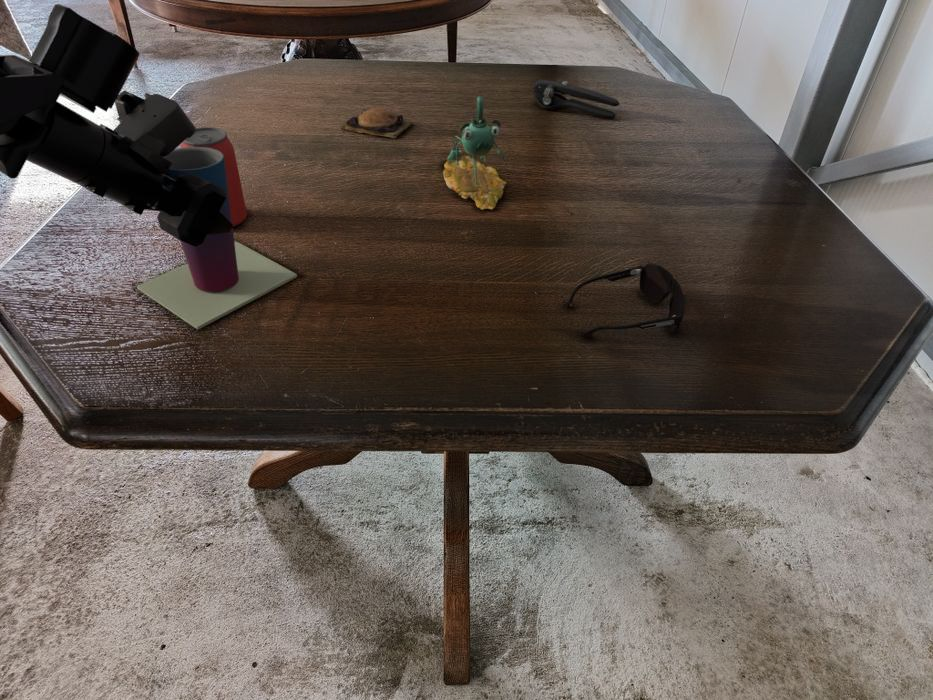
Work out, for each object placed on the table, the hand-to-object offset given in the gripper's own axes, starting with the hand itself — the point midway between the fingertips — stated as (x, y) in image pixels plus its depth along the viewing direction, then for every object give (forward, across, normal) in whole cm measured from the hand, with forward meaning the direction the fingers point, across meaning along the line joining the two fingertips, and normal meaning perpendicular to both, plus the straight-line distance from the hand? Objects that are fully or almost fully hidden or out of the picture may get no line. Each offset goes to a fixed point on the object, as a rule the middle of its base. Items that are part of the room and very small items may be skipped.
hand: (213, 219), depth 71 cm
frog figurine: (+35, -6, -24) cm, 43 cm away
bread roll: (+40, +22, -29) cm, 54 cm away
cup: (+4, 0, +6) cm, 8 cm away
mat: (+5, 0, +6) cm, 8 cm away
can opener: (+63, -1, -53) cm, 82 cm away
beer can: (+12, +13, 0) cm, 17 cm away
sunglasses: (+23, -41, -12) cm, 48 cm away
